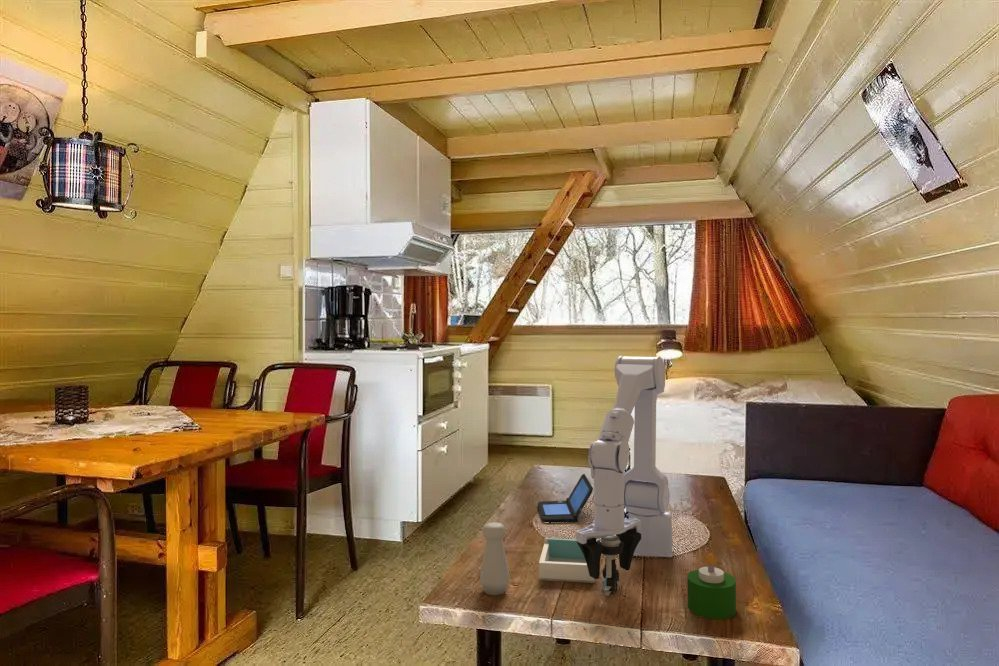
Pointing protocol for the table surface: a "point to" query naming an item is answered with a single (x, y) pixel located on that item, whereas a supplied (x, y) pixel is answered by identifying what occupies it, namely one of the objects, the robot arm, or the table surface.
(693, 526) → the table surface
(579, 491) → the handheld game console
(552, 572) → the bay
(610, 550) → the push button
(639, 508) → the robot arm
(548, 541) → the gate
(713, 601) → the candle
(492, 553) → the salt shaker
